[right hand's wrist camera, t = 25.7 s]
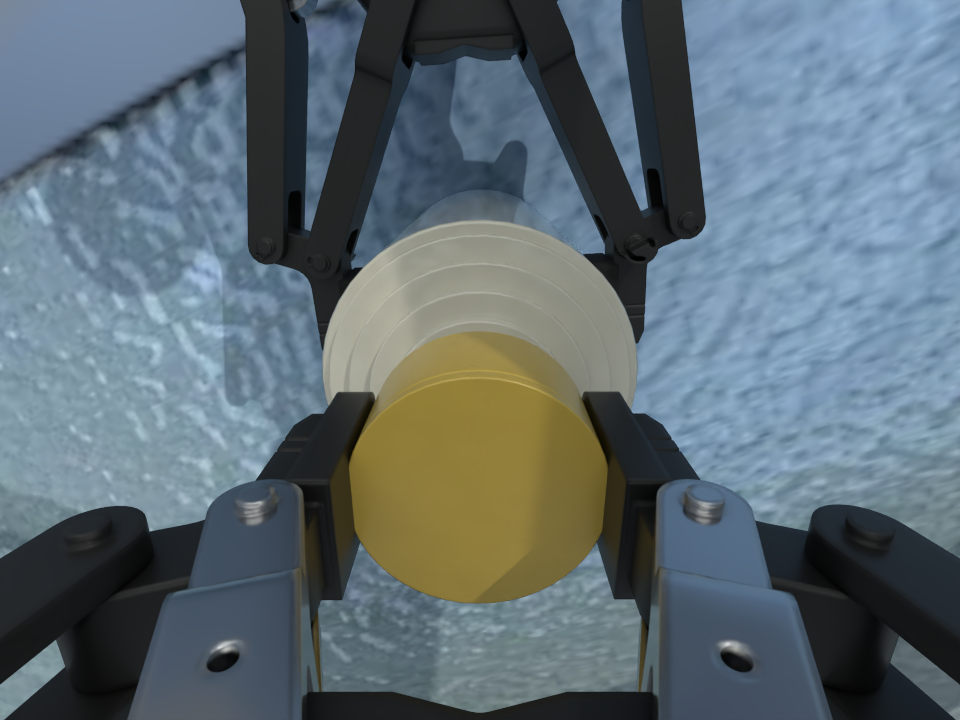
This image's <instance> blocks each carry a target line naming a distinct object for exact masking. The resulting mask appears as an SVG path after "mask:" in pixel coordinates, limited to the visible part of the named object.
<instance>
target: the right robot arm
mask: <svg viewBox="0 0 960 720" xmlns="http://www.w3.org/2000/svg"><path fill="white" fill-rule="evenodd" d="M582 400H583V403H584V405H585V408H586V410H587V413H588V415H589V418H590V420H591V422H592V425H593V427H594V430H595V432H596V435H597V437H598V440H599V442H600V444H601V447H602V449H603V452H604V454H605V457H606V460H607V464H608V473H607V484H606V494H605V505H604V516H603V527H602V533H601V535H600V537H599V539H598V540H597V544H598V548H599V551H600V554H601V558H602V561H603V564H604V567H605V571H606V574H607V577H608V581H609V584H610V587H611V590H612V594H613V597H614V599H635V601H636V604H637V607H638V610H639V613H640V615H641V622H640V629H639V646H638V665H637V685H636V692H565V693H561V694H557V695H553V696H549V697H545V698H541V699H537V700H534V701H530V702H526V703H522V704H518V705H514V706H510V707H506V708H502V709H498V710H494V711H490V712H485V713H475V712H470V711H466V710H462V709H458V708H454V707H450V706H446V705H442V704H438V703H434V702H430V701H426V700H422V699H419V698H415V697H411V696H407V695H403V694H399V693H395V692H324V685H323V665H322V646H321V629H320V621H319V614H318V607H319V605H320V602H321V600H342V598H343V595H344V592H345V589H346V586H347V582H348V579H349V576H350V573H351V570H352V566H353V563H354V560H355V557H356V554H357V551H358V547H359V544H360V540H359V539H358V536H357V534H356V532H355V525H354V515H353V504H352V494H351V483H350V473H349V462H350V458H351V455H352V452H353V450H354V448H355V445H356V443H357V441H358V439H359V436H360V434H361V432H362V430H363V427H364V425H365V423H366V421H367V418H368V416H369V414H370V412H371V409H372V407H373V405H374V403H375V395H374V393H373V392H337V394H336V395H335V397H334V398H333V400H332V402H331V403H330V405H329V406H328V408H327V410H326V411H325V413H324V414H311V415H310V416H308V417H307V418H305V419H303V420H302V421H300V422H299V423H297V424H295V425H294V426H293V428H292V429H291V431H290V432H289V434H288V435H287V436H286V438H285V441H283V442H282V444H281V445H280V446H279V448H278V451H277V452H275V454H274V455H273V456H272V458H271V459H270V461H269V462H268V464H267V465H266V466H265V468H264V469H263V471H262V472H261V473H260V475H259V476H258V478H257V479H256V481H253V482H249V483H245V484H242V485H239V486H237V487H234V488H232V489H230V490H228V491H226V492H225V493H223V494H222V495H220V496H219V497H218V498H216V499H215V500H214V501H213V502H212V504H211V505H210V507H209V508H208V511H207V514H206V518H205V520H202V521H199V522H196V523H191V524H187V525H182V526H177V527H171V528H166V529H161V530H156V531H151V532H150V531H149V527H148V523H147V519H146V516H145V514H144V513H143V512H142V511H141V510H139V509H137V508H133V507H128V506H111V507H104V508H98V509H94V510H90V511H87V512H84V513H81V514H78V515H75V516H73V517H70V518H68V519H66V520H64V521H62V522H60V523H58V524H56V525H55V526H53V527H51V528H49V529H48V530H46V531H45V532H43V533H41V534H40V535H38V536H36V537H35V538H33V539H32V540H30V541H28V542H27V543H25V544H23V545H22V546H20V547H18V548H17V549H15V550H14V551H12V552H10V553H9V554H7V555H5V556H4V557H2V558H0V684H1V683H3V682H4V681H5V680H6V679H7V678H9V677H10V676H11V675H12V674H14V673H15V672H16V671H17V670H19V669H20V668H21V667H22V666H24V665H25V664H26V663H27V662H29V661H30V660H31V659H32V658H34V657H35V656H36V655H37V654H39V653H40V652H41V651H42V650H44V649H45V648H46V647H47V646H48V645H50V644H51V643H52V642H53V641H55V640H56V641H57V644H58V647H59V650H60V652H61V655H62V658H63V661H64V664H65V668H64V669H62V670H61V671H60V672H59V673H58V674H57V675H55V676H54V677H53V678H52V679H51V680H50V681H49V682H47V683H46V684H45V685H44V686H43V687H42V688H40V689H39V690H38V691H37V692H36V693H35V694H34V695H32V696H31V697H30V698H29V699H28V700H27V701H25V702H24V703H23V704H22V705H21V706H20V707H19V708H17V709H16V710H15V711H14V712H13V713H12V714H10V715H9V716H8V717H7V718H6V719H5V720H955V719H954V718H953V717H952V716H951V715H950V714H948V713H947V712H946V711H945V710H944V709H943V708H941V707H940V706H939V705H938V704H937V703H936V702H935V701H933V700H932V699H931V698H930V697H929V696H928V695H926V694H925V693H924V692H923V691H922V690H921V689H920V688H918V687H917V686H916V685H915V684H914V683H913V682H911V681H910V680H909V679H908V678H907V677H906V676H904V675H903V674H902V673H901V672H900V671H899V670H898V669H896V668H895V667H894V666H893V665H892V664H891V663H890V661H891V658H892V655H893V652H894V649H895V646H896V643H897V641H898V638H899V636H900V637H902V638H903V639H904V640H905V641H907V642H908V643H909V644H910V645H912V646H913V647H914V648H915V649H916V650H918V651H919V652H920V653H921V654H923V655H924V656H925V657H926V658H928V659H929V660H930V661H931V662H933V663H934V664H935V665H936V666H938V667H939V668H940V669H941V670H943V671H944V672H945V673H946V674H948V675H949V676H950V677H951V678H952V679H954V680H955V681H956V682H957V683H959V684H960V558H958V557H956V556H955V555H953V554H951V553H950V552H948V551H946V550H945V549H943V548H942V547H940V546H938V545H937V544H935V543H933V542H932V541H930V540H928V539H927V538H925V537H924V536H922V535H920V534H919V533H917V532H915V531H914V530H912V529H910V528H909V527H907V526H906V525H904V524H902V523H900V522H899V521H897V520H895V519H893V518H890V517H888V516H886V515H884V514H881V513H878V512H875V511H872V510H869V509H865V508H861V507H856V506H850V505H827V506H823V507H820V508H818V509H816V510H815V511H814V512H813V514H812V517H811V521H810V525H809V529H808V531H804V530H798V529H793V528H788V527H783V526H778V525H772V524H767V523H763V522H759V521H755V518H754V514H753V511H752V508H751V507H750V505H749V504H748V502H747V501H746V500H745V499H744V498H742V497H741V496H740V495H738V494H737V493H735V492H734V491H732V490H730V489H728V488H726V487H723V486H721V485H718V484H715V483H711V482H708V481H702V480H700V479H699V477H698V476H697V474H696V473H695V471H694V470H693V468H692V467H691V465H690V464H689V463H688V461H687V460H686V458H685V457H684V455H683V454H682V452H679V448H678V447H677V445H676V444H675V442H674V441H673V440H671V436H670V435H669V434H668V432H667V431H666V429H665V428H664V426H663V425H662V424H660V423H659V422H657V421H656V420H654V419H653V418H651V417H649V416H648V415H646V414H633V413H632V411H631V410H630V408H629V406H628V405H627V403H626V401H625V400H624V398H623V396H622V395H621V393H620V392H619V391H585V392H584V393H583V396H582Z"/></svg>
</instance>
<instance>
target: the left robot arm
mask: <svg viewBox="0 0 960 720" xmlns="http://www.w3.org/2000/svg"><path fill="white" fill-rule="evenodd" d="M557 1H558V0H358V2H359V3H360V4H361V6H362V7H363V8H364V10H365V11H366V12H367V16H366V20H365V23H364V27H363V30H362V34H361V38H360V41H359V45H358V48H357V53H356V58H355V74H354V78H353V82H352V85H351V89H350V93H349V96H348V100H347V103H346V107H345V110H344V114H343V118H342V121H341V125H340V128H339V132H338V136H337V139H336V143H335V146H334V150H333V153H332V157H331V161H330V164H329V168H328V171H327V175H326V179H325V182H324V186H323V189H322V193H321V196H320V200H319V204H318V207H317V211H316V214H315V218H314V221H313V225H312V229H311V231H308V230H305V229H304V225H305V182H306V139H307V97H308V37H307V29H306V23H305V19H304V17H306V16H308V15H310V14H311V13H312V12H313V11H314V10H315V8H316V6H317V2H318V0H240V2H241V5H242V8H243V11H244V14H245V19H246V108H247V197H248V247H249V252H250V253H251V255H252V257H253V258H254V259H255V260H257V261H258V262H259V263H262V264H274V263H275V264H279V265H282V266H286V267H289V268H293V269H295V270H298V271H300V272H301V273H303V274H304V275H305V276H306V277H307V279H308V280H309V282H310V284H311V288H312V293H313V299H314V305H315V311H316V317H317V323H318V329H319V333H320V341H321V347H322V350H323V349H324V342H325V336H326V333H327V329H328V326H329V322H330V319H331V317H332V314H333V312H334V310H335V308H336V305H337V303H338V301H339V299H340V298H341V296H342V295H343V293H344V291H345V290H346V288H347V287H348V285H349V284H350V282H351V281H352V280H353V279H354V278H355V276H356V275H357V274H358V273H359V272H360V271H361V269H362V268H363V267H361V268H354V269H353V270H352V268H351V261H352V260H353V259H354V258H355V256H356V255H355V254H353V253H354V250H355V247H356V243H357V240H358V237H359V234H360V231H361V227H362V224H363V221H364V218H365V214H366V211H367V208H368V205H369V201H370V198H371V195H372V192H373V189H374V185H375V182H376V179H377V176H378V172H379V169H380V166H381V163H382V159H383V156H384V153H385V150H386V147H387V143H388V140H389V137H390V134H391V130H392V127H393V124H394V121H395V117H396V114H397V111H398V108H399V105H400V101H401V98H402V96H403V94H404V92H405V91H406V88H407V86H408V83H409V80H410V77H411V73H412V70H413V67H414V64H415V61H417V62H419V63H420V64H421V66H424V65H438V64H445V63H448V62H450V61H453V60H456V59H458V58H461V57H464V56H469V57H473V58H477V59H482V60H486V61H498V60H511V57H512V56H513V55H515V54H517V56H518V59H519V61H520V63H521V65H522V67H523V70H524V72H525V74H526V76H527V78H528V80H529V82H530V83H531V85H532V86H533V88H534V90H535V92H536V94H537V96H538V98H539V100H540V103H541V105H542V107H543V109H544V111H545V114H546V116H547V118H548V120H549V122H550V125H551V127H552V129H553V131H554V134H555V136H556V138H557V140H558V142H559V145H560V147H561V149H562V151H563V153H564V156H565V158H566V160H567V162H568V164H569V167H570V169H571V171H572V173H573V176H574V178H575V180H576V182H577V184H578V187H579V189H580V191H581V193H582V195H583V198H584V200H585V202H586V204H587V207H588V209H589V211H590V213H591V215H592V218H593V220H594V222H595V224H596V226H597V229H598V231H599V233H600V235H601V237H602V240H603V242H604V244H605V254H603V253H595V254H583V255H584V256H585V257H586V258H587V259H588V260H589V261H590V262H591V263H592V264H593V265H594V266H595V267H596V268H597V269H598V270H599V271H600V272H601V273H602V274H603V275H604V277H605V278H606V279H607V281H608V282H609V283H610V285H611V286H612V287H613V289H614V290H615V291H616V293H617V295H618V297H619V299H620V301H621V302H622V304H623V306H624V308H625V310H626V313H627V315H628V318H629V321H630V323H631V326H632V329H633V334H634V338H635V343H638V342H639V340H640V338H641V336H642V333H643V331H644V314H645V293H646V271H647V263H649V262H650V261H651V260H653V259H654V257H655V256H656V254H657V252H658V249H659V248H661V247H663V246H665V245H668V244H670V243H672V242H675V241H677V240H680V239H691V238H693V237H695V236H697V235H698V234H699V233H700V232H701V231H702V230H703V228H704V225H705V220H706V215H705V206H704V197H703V188H702V179H701V170H700V161H699V153H698V144H697V135H696V126H695V117H694V108H693V99H692V90H691V82H690V73H689V64H688V55H687V46H686V37H685V28H684V19H683V11H682V2H681V0H622V13H621V20H622V31H623V39H624V46H625V53H626V60H627V66H628V73H629V80H630V87H631V94H632V100H633V107H634V114H635V121H636V128H637V135H638V141H639V148H640V155H641V162H642V169H643V175H644V182H645V189H646V196H647V203H648V208H647V209H645V210H643V211H640V209H639V206H638V204H637V202H636V199H635V197H634V194H633V192H632V190H631V187H630V185H629V183H628V180H627V178H626V176H625V173H624V171H623V168H622V166H621V164H620V161H619V159H618V157H617V154H616V152H615V149H614V147H613V145H612V142H611V140H610V138H609V135H608V133H607V130H606V128H605V126H604V123H603V121H602V119H601V116H600V114H599V111H598V109H597V107H596V104H595V102H594V100H593V97H592V95H591V92H590V90H589V88H588V85H587V83H586V81H585V78H584V76H583V73H582V71H581V69H580V66H579V64H578V61H577V59H576V55H575V48H574V44H573V41H572V38H571V36H570V33H569V31H568V28H567V26H566V23H565V21H564V19H563V16H562V14H561V12H560V9H559V7H558V4H557Z"/></svg>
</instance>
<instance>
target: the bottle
mask: <svg viewBox="0 0 960 720" xmlns="http://www.w3.org/2000/svg"><path fill="white" fill-rule="evenodd" d="M473 331H485V332H497V333H501V334H506V335H511V336H514V337H517V338H520V339H522V340H525V341H527V342H529V343H531V344H533V345H535V346H537V347H539V348H540V349H542V350H543V351H545V352H546V353H548V354H549V355H550V356H552V357H553V358H554V359H555V360H556V361H557V362H558V363H559V364H560V365H561V366H562V367H563V368H564V369H565V371H566V372H567V373H568V374H569V375H570V377H571V379H572V380H573V382H574V383H575V385H576V387H577V389H578V391H579V394H580V396H581V398H582V396H583V393H584V392H585V391H619V392H620V393H621V395H622V396H623V398H624V400H625V401H626V403H627V405H628V406H629V408H630V410H631V407H632V404H633V400H634V395H635V390H636V385H637V371H638V362H637V348H636V343H635V338H634V334H633V329H632V326H631V323H630V321H629V318H628V315H627V313H626V310H625V308H624V306H623V304H622V302H621V301H620V299H619V297H618V295H617V293H616V291H615V290H614V289H613V287H612V286H611V285H610V283H609V282H608V281H607V279H606V278H605V277H604V275H603V274H602V273H601V272H600V271H599V270H598V269H597V268H596V267H595V266H594V265H593V264H592V263H591V262H590V261H589V260H588V259H587V258H586V257H585V256H584V255H583V254H582V253H581V252H580V251H579V250H578V249H577V248H575V247H574V246H573V245H572V244H571V243H570V242H569V241H568V240H567V239H566V238H565V237H564V236H563V235H562V234H561V233H560V232H559V231H558V230H557V229H556V228H555V227H554V226H553V225H552V224H551V223H550V222H549V221H548V220H547V219H546V218H544V217H543V216H542V215H541V214H540V213H539V212H538V211H537V210H536V209H535V208H533V207H532V206H531V205H529V204H528V203H527V202H525V201H523V200H521V199H519V198H518V197H515V196H512V195H510V194H507V193H504V192H499V191H495V190H485V189H480V190H468V191H463V192H459V193H455V194H452V195H449V196H447V197H445V198H443V199H441V200H439V201H438V202H436V203H435V204H433V205H431V206H430V207H429V208H428V209H426V210H425V211H424V212H423V213H422V214H421V215H420V216H419V217H418V218H416V219H415V220H414V221H413V222H412V223H411V224H410V225H409V226H408V227H407V228H406V229H404V230H403V231H402V232H401V233H400V234H399V235H398V236H397V237H396V238H395V239H394V240H392V241H391V242H390V243H389V244H388V245H387V246H386V247H385V248H384V249H383V250H382V251H380V252H379V253H378V254H377V255H376V256H375V257H374V258H373V259H372V260H371V261H370V262H368V263H367V264H366V265H365V266H364V267H363V268H362V269H361V271H360V272H359V273H358V274H357V275H356V276H355V278H354V279H353V280H352V281H351V282H350V284H349V285H348V287H347V288H346V290H345V291H344V293H343V295H342V296H341V298H340V299H339V301H338V303H337V305H336V308H335V310H334V312H333V314H332V317H331V319H330V322H329V326H328V329H327V333H326V336H325V342H324V349H323V356H322V376H323V383H324V390H325V396H326V399H327V403H328V406H329V405H330V403H331V402H332V400H333V398H334V397H335V395H336V394H337V392H373V393H374V395H375V400H376V398H377V396H378V394H379V392H380V390H381V388H382V386H383V383H384V382H385V380H386V379H387V377H388V376H389V374H390V373H391V372H392V370H393V369H394V368H395V367H396V366H397V365H398V364H399V363H400V362H401V361H402V360H403V359H404V358H405V357H407V356H408V355H409V354H410V353H411V352H413V351H415V350H416V349H418V348H419V347H421V346H423V345H424V344H427V343H429V342H431V341H433V340H435V339H438V338H441V337H444V336H448V335H451V334H456V333H462V332H473Z"/></svg>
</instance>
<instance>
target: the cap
mask: <svg viewBox="0 0 960 720" xmlns="http://www.w3.org/2000/svg"><path fill="white" fill-rule="evenodd" d="M349 473H350V483H351V494H352V504H353V515H354V525H355V532H356V534H357V536H358V539H359V540H360V542H361V543H362V545H363V546H364V548H365V549H366V551H367V552H368V553H369V555H370V556H371V557H372V558H373V559H374V560H375V561H376V563H377V564H379V565H380V566H381V567H382V568H383V569H384V570H385V571H386V572H387V573H389V574H390V575H392V576H393V577H394V578H396V579H397V580H399V581H400V582H402V583H404V584H405V585H407V586H409V587H411V588H413V589H415V590H417V591H420V592H422V593H425V594H427V595H430V596H433V597H437V598H440V599H444V600H449V601H455V602H461V603H476V604H478V603H496V602H503V601H509V600H513V599H517V598H522V597H525V596H528V595H530V594H533V593H536V592H539V591H541V590H543V589H545V588H547V587H549V586H551V585H553V584H554V583H556V582H557V581H559V580H560V579H562V578H563V577H565V576H566V575H567V574H569V573H570V572H571V571H572V570H573V569H575V568H576V567H577V566H578V565H579V564H580V563H581V562H582V561H583V560H584V559H585V557H586V556H587V555H588V554H589V552H590V551H591V550H592V548H593V547H594V545H595V544H596V542H597V540H598V539H599V537H600V535H601V533H602V527H603V516H604V505H605V494H606V484H607V473H608V464H607V460H606V457H605V454H604V452H603V449H602V447H601V444H600V442H599V440H598V437H597V435H596V432H595V430H594V427H593V425H592V422H591V420H590V418H589V415H588V413H587V410H586V408H585V405H584V403H583V400H582V398H581V396H580V394H579V391H578V389H577V387H576V385H575V383H574V382H573V380H572V379H571V377H570V375H569V374H568V373H567V372H566V371H565V369H564V368H563V367H562V366H561V365H560V364H559V363H558V362H557V361H556V360H555V359H554V358H553V357H552V356H550V355H549V354H548V353H546V352H545V351H543V350H542V349H540V348H539V347H537V346H535V345H533V344H531V343H529V342H527V341H525V340H522V339H520V338H517V337H514V336H511V335H506V334H501V333H497V332H485V331H473V332H462V333H456V334H451V335H448V336H444V337H441V338H438V339H435V340H433V341H431V342H429V343H427V344H424V345H423V346H421V347H419V348H418V349H416V350H415V351H413V352H411V353H410V354H409V355H408V356H407V357H405V358H404V359H403V360H402V361H401V362H400V363H399V364H398V365H397V366H396V367H395V368H394V369H393V370H392V372H391V373H390V374H389V376H388V377H387V379H386V380H385V382H384V383H383V386H382V388H381V390H380V392H379V394H378V396H377V398H376V400H375V403H374V405H373V407H372V409H371V412H370V414H369V416H368V418H367V421H366V423H365V425H364V427H363V430H362V432H361V434H360V436H359V439H358V441H357V443H356V445H355V448H354V450H353V452H352V455H351V458H350V462H349Z"/></svg>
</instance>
